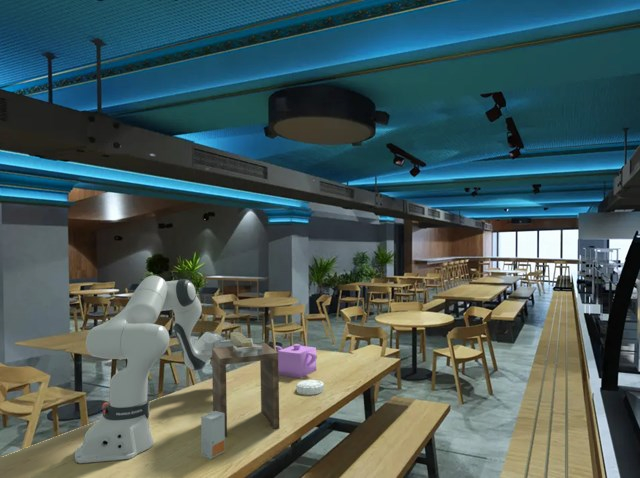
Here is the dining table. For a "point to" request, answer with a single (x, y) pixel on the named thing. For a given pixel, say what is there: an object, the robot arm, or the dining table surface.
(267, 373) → the stand
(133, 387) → the robot arm
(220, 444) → the skincare box
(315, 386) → the mooncake
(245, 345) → the bar
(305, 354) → the teapot
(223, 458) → the dining table surface
